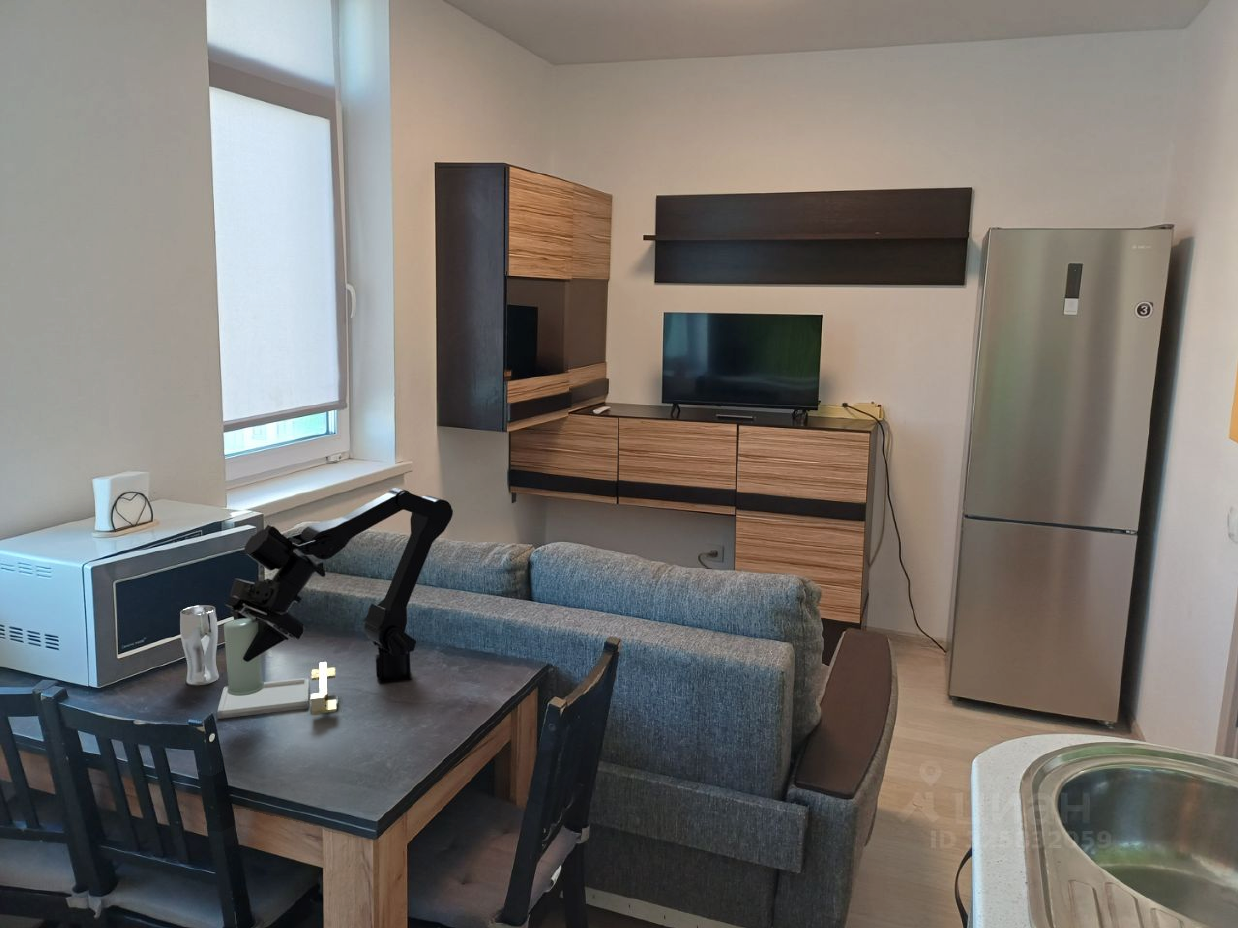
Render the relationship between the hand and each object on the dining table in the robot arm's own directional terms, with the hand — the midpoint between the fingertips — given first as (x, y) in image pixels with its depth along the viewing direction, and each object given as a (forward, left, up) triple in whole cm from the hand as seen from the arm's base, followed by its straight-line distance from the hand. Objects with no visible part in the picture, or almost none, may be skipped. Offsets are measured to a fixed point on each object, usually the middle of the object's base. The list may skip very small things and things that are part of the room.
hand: (236, 656), depth 166 cm
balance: (-15, -4, -13) cm, 20 cm away
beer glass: (+9, -25, -13) cm, 30 cm away
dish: (-4, -10, -13) cm, 17 cm away
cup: (-1, -1, -7) cm, 7 cm away
